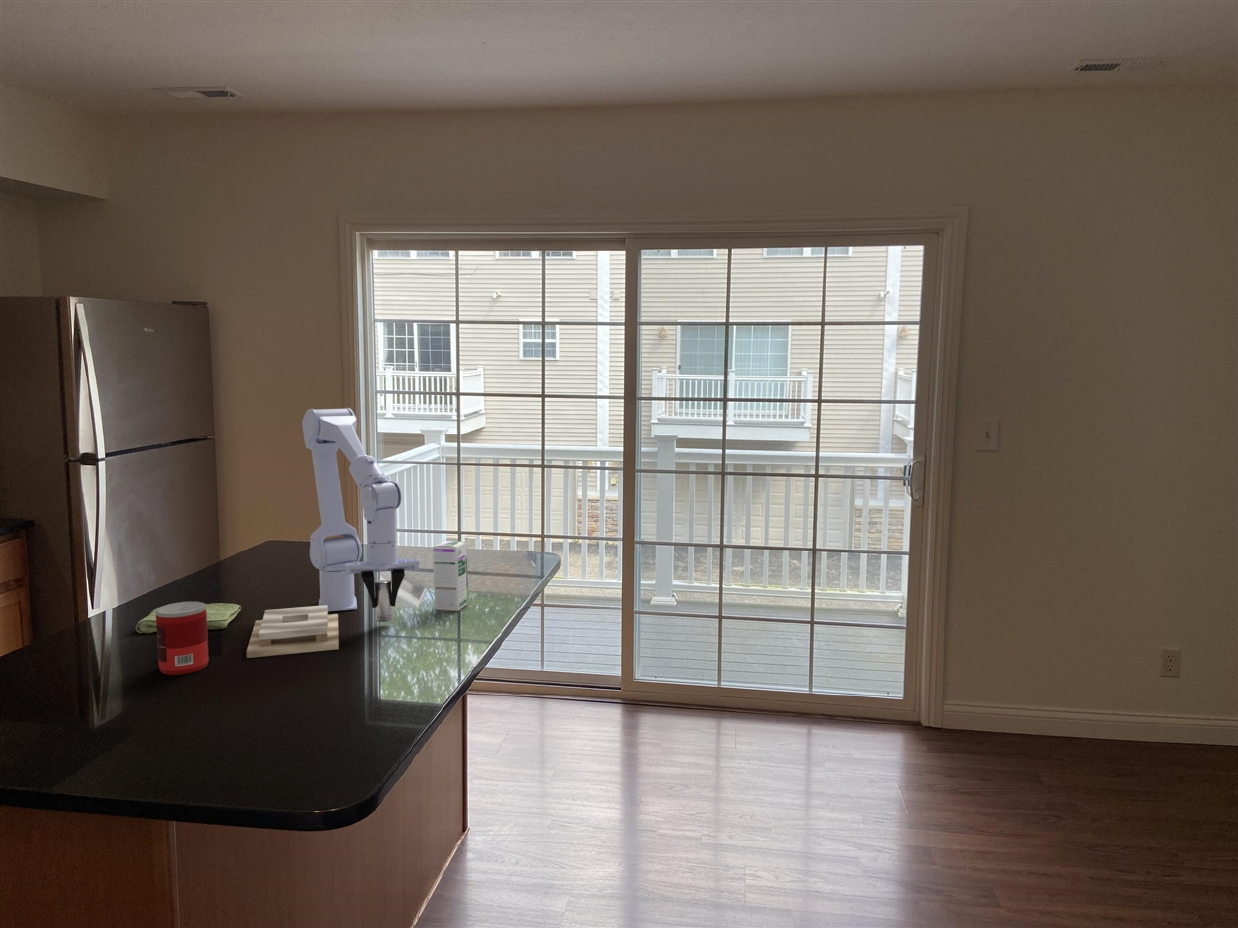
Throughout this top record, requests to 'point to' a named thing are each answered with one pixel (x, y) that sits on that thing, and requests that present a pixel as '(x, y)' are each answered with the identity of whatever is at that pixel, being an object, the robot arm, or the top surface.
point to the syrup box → (450, 575)
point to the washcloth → (216, 617)
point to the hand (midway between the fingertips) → (383, 605)
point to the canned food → (182, 637)
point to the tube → (383, 601)
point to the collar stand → (294, 632)
